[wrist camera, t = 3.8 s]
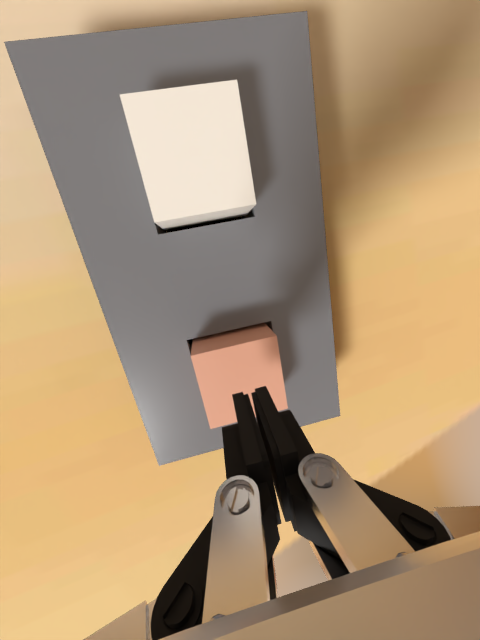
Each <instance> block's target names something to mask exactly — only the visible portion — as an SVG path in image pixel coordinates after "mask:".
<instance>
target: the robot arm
mask: <svg viewBox="0 0 480 640" xmlns="http://www.w3.org/2000/svg"><path fill="white" fill-rule="evenodd" d="M251 394H252V399H253V404H254V409H255V414H256V417H255V414H254V411H253V408H252V405H251V402H250V398H249V395H248V394H245V395H244V394H243V392H240V393H236V394H232V397H233V402H234V407H235V412H236V417H237V422H238V423H236V424H233V425H229V426H225V427H222V436H223V447H224V457H225V467H226V478H227V480H226V481H224V483H223V484H222V485H221V486H220V487H219V489H218V491H217V493H216V497H215V504H214V513H213V517H212V518H211V520H210V521H209V523H208V524H207V525H206V527H205V528H204V530H203V531H202V532H201V534H200V535H199V537H198V538H197V540H196V541H195V542H194V544H193V545H192V547H191V548H190V550H189V551H188V552H187V554H186V555H185V557H184V558H183V559H182V561H181V562H180V564H179V565H178V567H177V568H176V569H175V571H174V572H173V574H172V575H171V577H170V578H169V579H168V581H167V582H166V584H165V585H164V586H163V588H162V590H161V592H160V593H159V595H158V597H157V599H155V600H153V601H152V602H150V603H149V604H147V602H146V600H145V601H144V602H142V603H141V604H139V605H138V606H136V607H134V608H133V609H131V610H130V611H128V612H126V613H125V614H123V615H122V616H120V617H119V618H117V619H115V620H114V621H112V622H111V623H109V624H107V625H106V626H104V627H103V628H101V629H99V630H98V631H96V632H95V633H93V634H92V635H90V636H88V637H87V638H85V639H84V640H480V506H463V507H434V512H433V511H432V512H428V511H427V510H425V509H423V508H421V507H419V506H417V505H415V504H412V503H410V502H407V501H405V500H403V499H400V498H398V497H395V496H393V495H390V494H388V493H385V492H383V491H380V490H378V489H376V488H373V487H371V486H368V485H366V484H363V483H361V482H358V481H356V480H353V479H352V478H351V477H350V475H349V474H348V473H347V472H346V471H345V470H344V468H343V467H342V466H341V465H340V464H339V463H338V462H337V461H336V460H335V459H334V458H332V457H330V456H328V455H325V454H321V453H316V454H315V452H314V451H313V449H312V447H311V445H310V444H309V442H308V440H307V438H306V437H305V435H304V433H303V431H302V429H301V428H300V426H299V424H298V422H297V421H296V419H295V417H294V415H293V414H292V412H291V410H286V411H282V412H278V410H277V408H276V406H275V404H274V402H273V400H272V398H271V395H270V393H269V391H268V389H267V387H266V386H263V387H259V388H256V389H255V392H252V393H251ZM256 419H257V420H256ZM273 482H274V483H273ZM274 486H275V488H274ZM275 489H276V492H277V496H278V499H279V502H280V505H281V509H282V512H283V515H284V518H285V521H286V522H288V521H291V522H292V525H293V528H294V531H297V532H298V534H300V535H301V536H303V537H305V538H306V539H308V540H309V542H310V545H311V548H312V550H313V552H314V554H315V556H316V558H317V560H318V562H319V564H320V566H321V568H322V570H323V572H324V574H325V576H326V578H327V579H328V581H326V582H323V583H320V584H317V585H314V586H311V587H308V588H305V589H302V590H299V591H296V592H293V593H290V594H287V595H285V596H282V597H279V598H278V592H277V583H276V573H275V565H274V558H273V554H274V551H275V549H276V547H277V545H278V542H279V540H280V537H279V532H278V527H277V525H278V524H281V519H280V514H279V509H278V503H277V498H276V493H275Z"/></svg>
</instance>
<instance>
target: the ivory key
mask: <svg viewBox="0 0 480 640" xmlns="http://www.w3.org/2000/svg"><path fill="white" fill-rule="evenodd" d="M120 98H121V102H122V105H123V109H124V113H125V116H126V120H127V124H128V128H129V131H130V135H131V139H132V142H133V146H134V150H135V153H136V157H137V161H138V164H139V168H140V172H141V175H142V179H143V183H144V186H145V190H146V194H147V197H148V201H149V205H150V208H151V212H152V216H153V220H154V223H156V224H157V225H158V226H160V227H161V228H162V229H164V230H168V229H174V228H179V227H185V226H190V225H195V224H201V223H206V222H212V221H217V220H223V219H228V218H234V217H239V216H245V215H247V214H248V213H249V211H250V210H251V209H252V208H253V207H254V206H255V205H256V199H255V192H254V186H253V179H252V173H251V166H250V160H249V153H248V147H247V140H246V134H245V127H244V121H243V114H242V108H241V101H240V95H239V89H238V82H237V80H230V81H222V82H214V83H206V84H198V85H190V86H182V87H174V88H166V89H159V90H151V91H143V92H135V93H127V94H120Z"/></svg>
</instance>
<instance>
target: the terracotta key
mask: <svg viewBox="0 0 480 640" xmlns="http://www.w3.org/2000/svg"><path fill="white" fill-rule="evenodd" d="M191 359H192V363H193V367H194V370H195V374H196V378H197V381H198V385H199V389H200V392H201V396H202V400H203V403H204V407H205V411H206V415H207V418H208V422H209V426H210V429H213V428H217V427H220V426H224V425H228V424H232V423H235V422H237V417H236V412H235V407H234V402H233V397H232V394H236V393H240V392H243V394H244V395H245V394H248V395H249V398H250V402H251V405H252V408H253V411H254V414H255V409H254V404H253V399H252V394H251V393H252V392H255V389H256V388H259V387H263V386H266V387H267V389H268V391H269V393H270V395H271V398H272V400H273V402H274V404H275V406H276V408H277V410H278V411H280V410H284V409H288V406H287V399H286V393H285V386H284V380H283V373H282V367H281V360H280V354H279V347H278V341H277V335H276V334H275V333H274V332H273V331H272V330H271V329H270V328H269V327H268V326H267V325H266V324H265V323H259V324H255V325H251V326H246V327H242V328H238V329H233V330H229V331H224V332H220V333H216V334H211V335H207V336H202V337H198V338H194V339H193V342H192V349H191ZM255 417H256V414H255Z"/></svg>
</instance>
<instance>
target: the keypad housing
mask: <svg viewBox="0 0 480 640" xmlns="http://www.w3.org/2000/svg"><path fill="white" fill-rule="evenodd" d="M4 43H5V46H6V48H7V51H8V54H9V57H10V59H11V62H12V65H13V67H14V70H15V73H16V76H17V78H18V81H19V84H20V87H21V89H22V92H23V95H24V98H25V100H26V103H27V106H28V108H29V111H30V114H31V117H32V119H33V122H34V125H35V128H36V130H37V133H38V136H39V139H40V141H41V144H42V147H43V149H44V152H45V155H46V158H47V160H48V163H49V166H50V169H51V171H52V174H53V177H54V180H55V182H56V185H57V188H58V190H59V193H60V196H61V199H62V201H63V204H64V207H65V210H66V212H67V215H68V218H69V221H70V223H71V226H72V229H73V232H74V234H75V237H76V240H77V242H78V245H79V248H80V251H81V253H82V256H83V259H84V262H85V264H86V267H87V270H88V273H89V275H90V278H91V281H92V283H93V286H94V289H95V292H96V294H97V297H98V300H99V303H100V305H101V308H102V311H103V314H104V316H105V319H106V322H107V324H108V327H109V330H110V333H111V335H112V338H113V341H114V344H115V346H116V349H117V352H118V355H119V357H120V360H121V363H122V365H123V368H124V371H125V374H126V376H127V379H128V382H129V385H130V387H131V390H132V393H133V396H134V398H135V401H136V404H137V406H138V409H139V412H140V415H141V417H142V420H143V423H144V426H145V428H146V431H147V434H148V437H149V439H150V442H151V445H152V447H153V450H154V453H155V456H156V458H157V461H158V464H159V466H160V465H163V464H167V463H170V462H174V461H178V460H181V459H185V458H189V457H192V456H196V455H200V454H203V453H207V452H210V451H214V450H218V449H221V448H224V447H223V436H222V427H225V426H229V425H233V424H236V423H238V422H235V423H232V424H228V425H224V426H220V427H217V428H213V429H210V426H209V422H208V418H207V415H206V411H205V407H204V403H203V400H202V396H201V392H200V389H199V385H198V381H197V378H196V374H195V370H194V367H193V363H192V359H191V349H192V342H193V339H194V338H198V337H202V336H207V335H211V334H216V333H220V332H224V331H229V330H233V329H238V328H242V327H246V326H251V325H255V324H259V323H265V324H266V325H267V326H268V327H269V328H270V329H271V330H272V331H273V332H274V333H275V334H276V335H277V341H278V347H279V354H280V360H281V367H282V373H283V380H284V386H285V393H286V399H287V406H288V409H284V410H280V411H278V412H282V411H286V410H291V412H292V414H293V415H294V417H295V419H296V421H297V422H298V424H299V426H300V427H301V426H305V425H308V424H312V423H316V422H319V421H323V420H327V419H330V418H334V417H337V416H340V408H339V396H338V383H337V371H336V359H335V347H334V335H333V322H332V310H331V298H330V286H329V273H328V261H327V249H326V237H325V224H324V212H323V200H322V188H321V176H320V163H319V151H318V139H317V127H316V114H315V102H314V90H313V78H312V65H311V53H310V41H309V29H308V17H307V11H303V12H293V13H283V14H273V15H264V16H254V17H244V18H234V19H224V20H215V21H205V22H195V23H185V24H175V25H165V26H156V27H146V28H136V29H126V30H116V31H107V32H97V33H87V34H77V35H67V36H58V37H48V38H38V39H28V40H18V41H8V42H4ZM230 80H237V82H238V89H239V95H240V101H241V108H242V114H243V121H244V127H245V134H246V140H247V147H248V153H249V160H250V166H251V173H252V179H253V186H254V192H255V199H256V205H255V206H254V207H253V208H252V209H251V210H250V211H249V213H248V214H247V215H245V216H242V219H240V220H234V221H229V222H224V223H218V224H213V225H207V226H202V227H196V228H191V229H186V230H180V231H175V232H169V233H166V230H164V229H162V228H161V227H160V226H158V225H157V224H156V223H154V220H153V216H152V212H151V208H150V205H149V201H148V197H147V194H146V190H145V186H144V183H143V179H142V175H141V172H140V168H139V164H138V161H137V157H136V153H135V150H134V146H133V142H132V139H131V135H130V131H129V128H128V124H127V120H126V116H125V113H124V109H123V105H122V102H121V98H120V94H127V93H135V92H143V91H151V90H159V89H166V88H174V87H182V86H190V85H198V84H206V83H214V82H222V81H230ZM256 420H257V419H256Z"/></svg>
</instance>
